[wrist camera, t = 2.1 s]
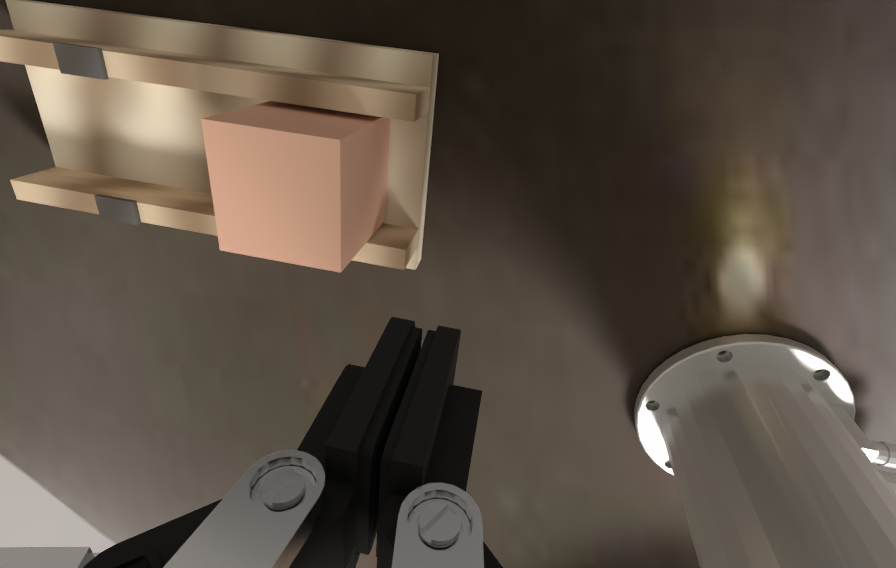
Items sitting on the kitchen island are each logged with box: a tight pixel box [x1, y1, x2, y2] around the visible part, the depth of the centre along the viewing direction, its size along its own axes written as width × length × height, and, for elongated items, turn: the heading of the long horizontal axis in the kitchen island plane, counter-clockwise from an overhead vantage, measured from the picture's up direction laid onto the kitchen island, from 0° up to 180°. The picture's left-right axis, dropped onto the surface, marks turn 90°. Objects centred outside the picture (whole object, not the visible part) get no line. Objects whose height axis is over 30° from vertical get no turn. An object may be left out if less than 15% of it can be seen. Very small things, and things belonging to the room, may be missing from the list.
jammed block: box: [201, 101, 390, 273], centre depth 24 cm, size 6×6×7 cm
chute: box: [0, 0, 439, 270], centre depth 27 cm, size 24×12×5 cm, turn 84°
